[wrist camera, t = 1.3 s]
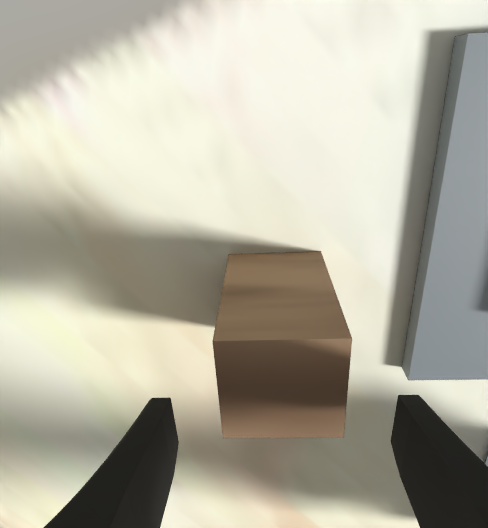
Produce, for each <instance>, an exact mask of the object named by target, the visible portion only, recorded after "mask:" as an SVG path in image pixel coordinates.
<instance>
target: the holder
mask: <svg viewBox="0 0 488 528" xmlns="http://www.w3.org/2000/svg"><path fill="white" fill-rule="evenodd" d="M402 369H403V371H404V373H405V375H406V377H407V379H408V380H469V379H488V32H485V33H469V34H464V35H460V36H456V37H455V40H454V47H453V53H452V59H451V65H450V72H449V78H448V84H447V90H446V97H445V103H444V109H443V115H442V121H441V128H440V134H439V140H438V146H437V153H436V159H435V165H434V171H433V177H432V184H431V190H430V196H429V202H428V209H427V215H426V221H425V227H424V234H423V240H422V246H421V252H420V258H419V265H418V271H417V277H416V283H415V290H414V296H413V302H412V308H411V315H410V321H409V327H408V333H407V339H406V346H405V352H404V358H403V364H402Z"/></svg>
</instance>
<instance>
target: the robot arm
mask: <svg viewBox="0 0 488 528" xmlns="http://www.w3.org/2000/svg"><path fill="white" fill-rule="evenodd" d="M178 443H179V442H178V436H177V431H176V425H175V420H174V414H173V409H172V403H171V398H152V399H150V400H149V402H148V403H147V405H146V406H145V408H144V409H143V410H142V412H141V413H140V415H139V416H138V418H137V419H136V420H135V422H134V423H133V425H132V426H131V427H130V429H129V430H128V432H127V433H126V434H125V436H124V437H123V438H122V440H121V441H120V442H119V444H118V445H117V446H116V447H115V449H114V450H113V451H112V453H111V454H110V455H109V456H108V458H107V459H106V460H105V461H104V463H103V464H102V465H101V466H100V467H99V469H98V470H97V471H96V472H95V473H94V475H93V476H92V477H91V478H90V479H89V480H88V482H87V483H86V484H85V485H84V486H83V487H82V488H81V490H80V491H79V492H78V493H77V494H76V495H75V496H74V497H73V498H72V499H71V501H70V502H69V503H68V504H67V505H66V506H65V507H64V508H63V509H62V510H61V511H60V512H59V513H58V514H57V515H56V516H55V517H54V518H53V519H52V520H51V521H50V522H49V523H48V524H47V525H46V526H45V527H44V528H160V526H161V522H162V518H163V514H164V511H165V507H166V503H167V499H168V495H169V492H170V488H171V484H172V480H173V476H174V470H175V464H176V457H177V450H178ZM391 444H392V448H393V452H394V456H395V460H396V463H397V467H398V470H399V474H400V477H401V480H402V482H403V485H404V487H405V490H406V493H407V495H408V498H409V500H410V503H411V505H412V508H413V511H414V513H415V516H416V518H417V521H418V523H419V526H420V528H488V457H487V460H486V463H484V462H483V461H481V460H480V459H479V458H478V457H477V456H476V455H475V454H474V453H473V452H472V451H471V450H470V449H469V448H468V447H467V446H466V445H465V444H464V443H463V442H462V441H461V440H460V439H459V437H458V436H457V435H456V434H455V433H454V432H453V431H452V430H451V429H450V428H449V427H448V426H447V425H446V424H445V423H444V422H443V421H442V420H441V419H440V417H439V416H438V415H437V414H436V413H435V412H434V411H433V410H432V409H431V408H430V407H429V406H428V404H427V403H426V402H425V401H424V400H423V399H422V398H421V397H420V396H419V395H398V400H397V406H396V412H395V418H394V425H393V431H392V437H391Z"/></svg>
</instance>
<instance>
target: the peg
mask: <svg viewBox="0 0 488 528" xmlns="http://www.w3.org/2000/svg"><path fill="white" fill-rule="evenodd" d="M351 344H352V337H351V334H350V332H349V329H348V326H347V323H346V320H345V318H344V315H343V312H342V309H341V307H340V304H339V301H338V298H337V295H336V293H335V290H334V287H333V284H332V281H331V279H330V276H329V273H328V270H327V268H326V265H325V262H324V259H323V256H322V254H321V251H318V252H286V253H254V254H229V256H228V261H227V266H226V272H225V277H224V283H223V288H222V293H221V299H220V304H219V310H218V315H217V320H216V326H215V331H214V337H213V349H214V358H215V368H216V377H217V386H218V395H219V405H220V414H221V423H222V433H223V438H344V426H345V415H346V403H347V391H348V379H349V368H350V356H351Z"/></svg>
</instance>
